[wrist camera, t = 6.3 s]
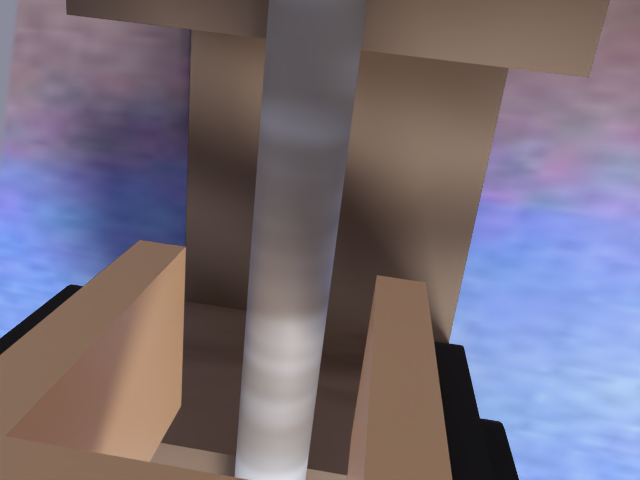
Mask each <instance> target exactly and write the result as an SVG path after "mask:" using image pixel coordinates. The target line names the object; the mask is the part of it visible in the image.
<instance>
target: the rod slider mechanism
mask: <svg viewBox="0 0 640 480" xmlns="http://www.w3.org/2000/svg"><path fill="white" fill-rule="evenodd" d="M609 1H610V0H66V8H67V15H75V16H84V17H92V18H100V19H108V20H117V21H125V22H133V23H141V24H150V25H158V26H166V27H174V28H183V29H191V65H190V100H189V135H188V170H187V206H186V241H185V247H186V261H185V295H184V328H183V361H182V395H181V407H180V409H179V410H178V412H177V414H176V416H175V418H174V419H173V421H172V423H171V425H170V426H169V428H168V430H167V432H166V434H165V435H164V437H163V439H162V441H161V442H160V444H159V446H158V448H157V450H156V451H155V453H154V455H153V457H152V458H151V460H150V462H152V463H158V464H164V465H169V466H175V467H180V468H186V469H192V470H197V471H203V472H209V473H214V474H220V475H225V476H231V477H237V478H242V479H248V480H347V474H348V464H349V454H350V444H351V434H352V428H353V422H354V416H355V409H356V403H357V397H358V391H359V384H360V378H361V372H362V365H363V359H364V353H365V347H366V340H367V334H368V328H369V321H370V315H371V309H372V303H373V296H374V290H375V284H376V278H377V275H379V276H386V277H393V278H399V279H406V280H413V281H419V282H426V286H427V293H428V301H429V308H430V315H431V323H432V330H433V338H434V341H436V342H442V343H449V339H450V334H451V329H452V325H453V320H454V316H455V311H456V306H457V302H458V297H459V293H460V288H461V284H462V279H463V274H464V270H465V265H466V261H467V256H468V251H469V247H470V242H471V238H472V233H473V229H474V224H475V219H476V215H477V210H478V206H479V201H480V196H481V192H482V187H483V183H484V178H485V174H486V169H487V164H488V160H489V155H490V151H491V146H492V141H493V137H494V132H495V128H496V123H497V119H498V114H499V109H500V105H501V100H502V96H503V91H504V86H505V82H506V77H507V73H508V68H513V69H521V70H530V71H538V72H546V73H554V74H563V75H571V76H579V77H587V78H589V76H590V72H591V68H592V64H593V61H594V57H595V53H596V49H597V46H598V42H599V38H600V34H601V31H602V27H603V23H604V20H605V16H606V12H607V8H608V5H609Z"/></svg>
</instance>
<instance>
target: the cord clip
mask: <svg viewBox="0 0 640 480" xmlns="http://www.w3.org/2000/svg"><path fill="white" fill-rule="evenodd" d="M185 261H186V247H185V246H178V245H171V244H165V243H158V242H151V241H144V240H139V241H138V242H136V243H135V244H134V245H133V246H131V247H130V248H129V249H128V250H127V251H125V252H124V253H123V254H122V255H121V256H119V257H118V258H117V259H116V260H115V261H113V262H112V263H111V264H110V265H109V266H107V267H106V268H105V269H104V270H102V271H101V272H100V273H99V274H98V275H96V276H95V277H94V278H93V279H92V280H90V281H89V282H88V283H87V284H86V285H84V286H83V287H82V288H81V289H80V290H78V291H77V292H76V293H75V294H73V295H72V296H71V297H70V298H69V299H67V300H66V301H65V302H64V303H63V304H61V305H60V306H59V307H58V308H57V309H55V310H54V311H53V312H52V313H50V314H49V315H48V316H47V317H46V318H44V319H43V320H42V321H41V322H40V323H38V324H37V325H36V326H35V327H34V328H32V329H31V330H30V331H29V332H28V333H26V334H25V335H24V336H23V337H21V338H20V339H19V340H18V341H17V342H15V343H14V344H13V345H12V346H11V347H9V348H8V349H7V350H6V351H5V352H3V353H2V354H1V355H0V480H248V479H242V478H237V477H231V476H225V475H220V474H214V473H209V472H203V471H197V470H192V469H186V468H180V467H175V466H169V465H164V464H158V463H152V462H150V460H151V458H152V457H153V455H154V453H155V451H156V450H157V448H158V446H159V444H160V442H161V441H162V439H163V437H164V435H165V434H166V432H167V430H168V428H169V426H170V425H171V423H172V421H173V419H174V418H175V416H176V414H177V412H178V410H179V409H180V407H181V395H182V361H183V328H184V295H185ZM347 480H452V473H451V465H450V458H449V450H448V443H447V435H446V428H445V420H444V413H443V405H442V398H441V390H440V383H439V375H438V368H437V360H436V353H435V345H434V338H433V330H432V323H431V315H430V308H429V301H428V293H427V286H426V282H419V281H413V280H406V279H399V278H393V277H386V276H379V275H377V278H376V284H375V290H374V296H373V303H372V309H371V315H370V321H369V328H368V334H367V340H366V347H365V353H364V359H363V365H362V372H361V378H360V384H359V391H358V397H357V403H356V409H355V416H354V422H353V428H352V434H351V444H350V454H349V464H348V474H347Z"/></svg>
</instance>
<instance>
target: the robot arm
mask: <svg viewBox="0 0 640 480" xmlns="http://www.w3.org/2000/svg"><path fill="white" fill-rule="evenodd" d="M82 287H83V286H78V285H69V286H67V287H66V288H64V289H63V290H62V291H60V292H59V293H58V294H57V295H55V296H54V297H53V298H52V299H50V300H49V301H48V302H46V303H45V304H44V305H43V306H41V307H40V308H39V309H37V310H36V311H35V312H34V313H32V314H31V315H30V316H28V317H27V318H26V319H25V320H23V321H22V322H21V323H20V324H18V325H17V326H16V327H14V328H13V329H12V330H11V331H9V332H8V333H7V334H5V335H4V336H3V337H2V338H0V355H1V354H2V353H3V352H5V351H6V350H7V349H8V348H9V347H11V346H12V345H13V344H14V343H15V342H17V341H18V340H19V339H20V338H21V337H23V336H24V335H25V334H26V333H28V332H29V331H30V330H31V329H32V328H34V327H35V326H36V325H37V324H38V323H40V322H41V321H42V320H43V319H44V318H46V317H47V316H48V315H49V314H50V313H52V312H53V311H54V310H55V309H57V308H58V307H59V306H60V305H61V304H63V303H64V302H65V301H66V300H67V299H69V298H70V297H71V296H72V295H73V294H75V293H76V292H77V291H78V290H80V289H81V288H82ZM434 345H435V353H436V360H437V368H438V375H439V383H440V390H441V398H442V405H443V413H444V420H445V428H446V435H447V443H448V450H449V458H450V465H451V473H452V480H519V478H518V475H517V471H516V468H515V464H514V461H513V457H512V453H511V450H510V446H509V443H508V439H507V436H506V432H505V429H504V427H503V424H502V423H501V422H499V421H493V420H487V419H481V418H480V417H479V413H478V408H477V404H476V399H475V395H474V390H473V386H472V382H471V377H470V373H469V368H468V364H467V359H466V355H465V351H464V347H463V346H462V345H455V344H449V343H442V342H436V341H434Z"/></svg>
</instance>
